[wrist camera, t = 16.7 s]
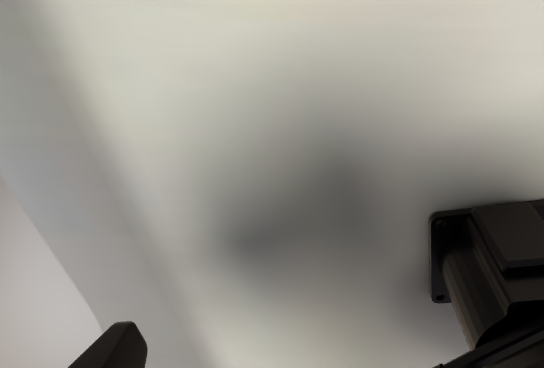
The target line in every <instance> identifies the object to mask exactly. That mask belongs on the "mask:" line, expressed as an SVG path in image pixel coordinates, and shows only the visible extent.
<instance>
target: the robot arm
mask: <svg viewBox="0 0 544 368" xmlns="http://www.w3.org/2000/svg"><path fill="white" fill-rule="evenodd" d="M438 221H443V222H442V223H439V224H438V223H437V222H438ZM429 272H430V295H431V298H432V301H433V302H435V303H451V302H452V304H453V307H454V309H455V312H456V314H457V317H458V320H459V322H460V325H461V327H462V330H463V333H464V335H465V338H466V340H467V343H468V346H469V348H470V351H469V352H467V353H465V354H463V355H461V356H460V357H458V358H456V359H454V360H452V361H450V362H448V363H446V364H444V365H443V364H439V365H437V366H435V367H433V368H544V200H538V201H529V202H520V203H512V204H503V205H495V206H486V207H478V208H470V209H461V210H453V211H444V212H437V213H434V214H433V215H431V217H430V218H429ZM146 358H147V344H146V341H145V340H144V338H143V336H142V334H141V333H140V331H139V329H138V328H137V326H136V324H135V323H134V322H132V321H126V322H117V323H115V324H113V325H112V326H111V327H110V328H109V329H108V330H107V331H106V332H104V333H103V334H102V335H101V336H100V337H99V338H98V339H97V340H96V341H95V342H94V343H93V344H92V345H91V346H90V347H89V348H88V349H87V350H86V351H85V352H84V353H83V354H82V355H80V357H78V358H77V359H76V360H75V361H74V362H73V363H72V364H71V365H70V366H69V367H68V368H145V363H146Z"/></svg>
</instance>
